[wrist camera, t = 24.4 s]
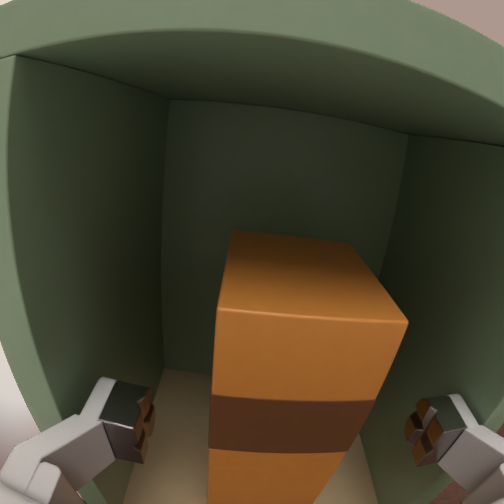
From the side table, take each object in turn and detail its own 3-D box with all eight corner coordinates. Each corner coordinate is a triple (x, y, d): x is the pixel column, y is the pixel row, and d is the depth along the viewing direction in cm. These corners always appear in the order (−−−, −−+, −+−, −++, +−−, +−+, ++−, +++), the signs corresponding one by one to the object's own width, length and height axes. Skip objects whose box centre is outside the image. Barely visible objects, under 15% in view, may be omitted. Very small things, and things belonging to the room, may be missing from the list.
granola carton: (300, 522, 10) (411, 322, 6) (206, 519, 10) (214, 308, 6) (292, 440, 15) (349, 242, 11) (214, 435, 14) (231, 228, 11)
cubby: (384, 538, 10) (609, 135, 3) (106, 528, 10) (-14, 10, 3) (345, 395, 21) (420, 117, 15) (153, 379, 21) (156, 78, 14)
